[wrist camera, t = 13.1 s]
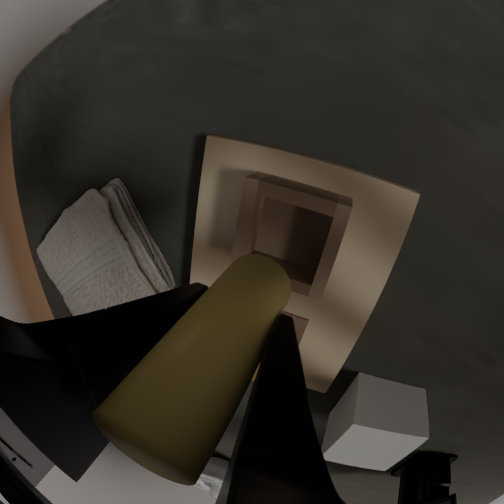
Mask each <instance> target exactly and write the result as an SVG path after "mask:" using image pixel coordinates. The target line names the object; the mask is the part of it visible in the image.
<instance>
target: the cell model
mask: <svg viewBox="0 0 504 504" xmlns="http://www.w3.org/2000/svg"><path fill="white" fill-rule="evenodd" d="M228 465H229V461H227V460H225V459H221V458H218V457H211V458H210V460H209V462H208V463H207V465H206V467H205V469H204V470H203V472H202V474H201V476H200V477H199V479H198V481H197V483H196V484H195V485H193V486H195V487H197V488H200V489H201V490H204V491H206V492H208V493H211V494H212V496H213V497H214V498H216V499H217V497H218V495H219V492H220V489H221V486H222V483H223V480H224V477H225V474H226V471H227V468H228Z"/></svg>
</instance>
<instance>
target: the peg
mask: <svg viewBox="0 0 504 504" xmlns="http://www.w3.org/2000/svg"><path fill="white" fill-rule="evenodd" d="M290 295H291V283H290V279H289V277H288V275H287V273H286V272H285V270H284V269H283V268H282V267H281V265H279V264H278V263H277V262H276V261H274V260H273V259H271V258H269V257H266V256H263V255H259V254H248V255H244V256H241V257H239V258H238V259H236V260H235V261H234V262H233V263H232V264H231V265H230V266H229V267H228V268H227V269H226V270H225V271H224V272H223V273H222V274H221V276H220V277H219V278H218V279H217V280H216V281H215V282H214V283H213V284H212V285H211V286H210V287H209V288H208V289H207V290H206V291H205V293H204V294H203V295H202V296H201V297H200V298H199V299H198V300H197V301H196V302H195V303H194V304H193V305H192V306H191V307H190V309H189V310H188V311H187V312H186V313H185V314H184V315H183V316H182V317H181V318H180V319H179V320H178V321H177V322H176V324H175V325H174V326H173V327H172V328H171V329H170V330H169V331H168V332H167V333H166V334H165V335H164V336H163V337H162V339H161V340H160V341H159V342H158V343H157V344H156V345H155V346H154V347H153V348H152V349H151V350H150V351H149V353H148V354H147V355H146V356H145V357H144V358H143V359H142V360H141V361H140V362H139V363H138V364H137V365H136V367H135V368H134V369H133V370H132V371H131V372H130V373H129V374H128V375H127V376H126V377H125V378H124V380H123V381H122V382H121V383H120V384H119V385H118V386H117V387H116V388H115V389H114V390H113V391H112V393H111V394H110V395H109V396H108V397H107V398H106V399H105V400H104V401H103V402H102V403H101V405H100V406H99V407H98V408H97V409H96V410H95V411H94V412H93V413H92V418H93V421H94V423H95V424H96V426H97V427H98V429H99V430H100V431H101V432H102V433H103V435H104V436H105V437H106V438H107V439H108V440H109V441H110V442H111V443H112V444H113V445H115V446H116V447H117V448H118V449H119V450H120V451H122V452H123V453H124V454H125V455H127V456H128V457H129V458H131V459H132V460H134V461H135V462H136V463H138V464H140V465H141V466H143V467H144V468H146V469H148V470H150V471H151V472H153V473H155V474H157V475H159V476H161V477H163V478H165V479H168V480H171V481H173V482H176V483H180V484H183V485H195V484H196V483H197V481H198V479H199V477H200V476H201V474H202V472H203V470H204V469H205V467H206V465H207V463H208V462H209V460H210V458H211V456H212V454H213V453H214V451H215V449H216V447H217V445H218V443H219V442H220V440H221V438H222V436H223V434H224V432H225V431H226V429H227V427H228V425H229V423H230V421H231V419H232V417H233V415H234V413H235V411H236V410H237V408H238V406H239V404H240V402H241V400H242V398H243V396H244V394H245V392H246V390H247V388H248V386H249V384H250V382H251V380H252V378H253V376H254V374H255V372H256V370H257V368H258V365H259V363H260V361H261V359H262V356H263V352H264V349H265V346H266V343H267V340H268V337H269V334H270V332H271V330H272V328H273V326H274V325H275V323H276V321H277V319H278V317H279V315H280V314H283V312H284V309H285V307H286V305H287V303H288V300H289V298H290Z"/></svg>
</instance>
